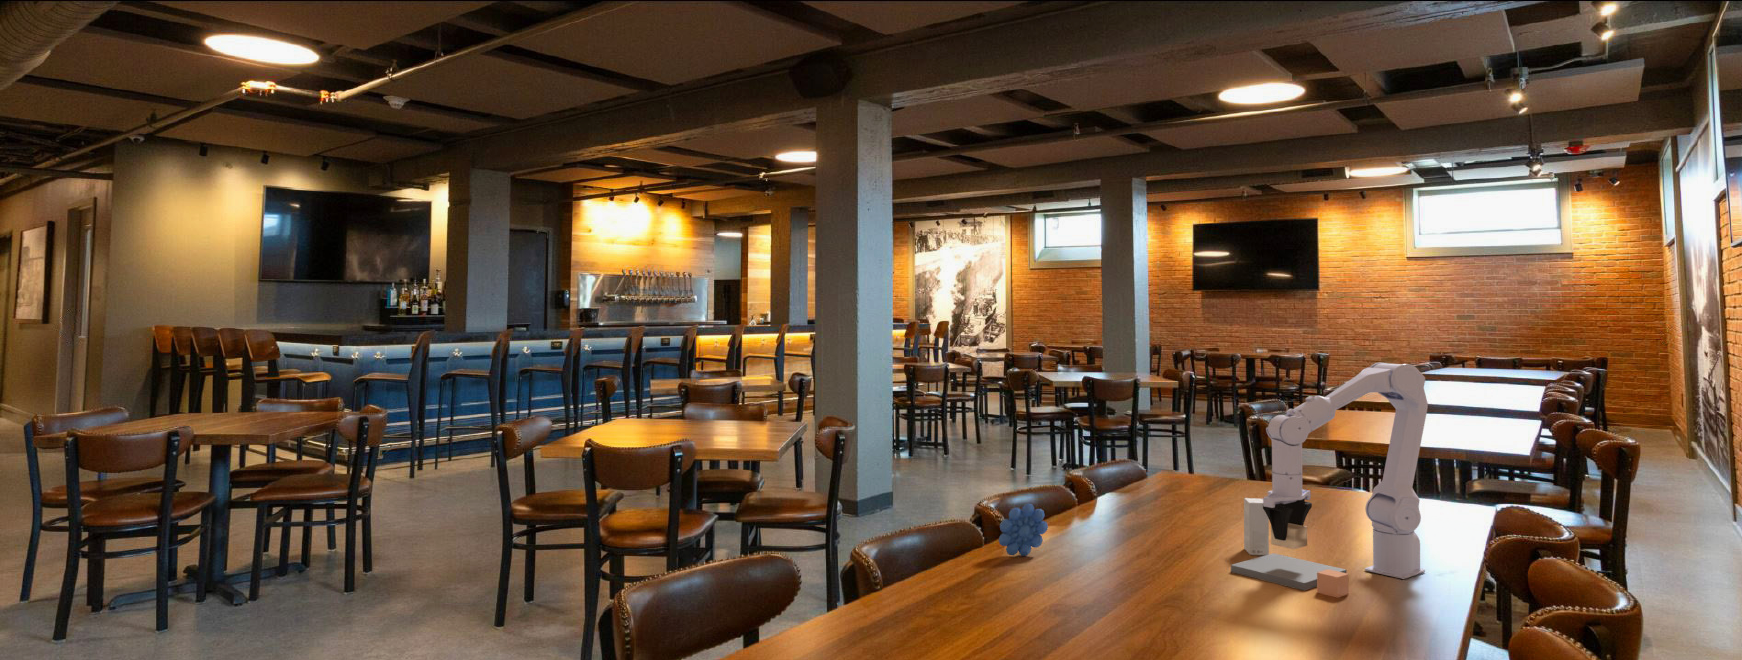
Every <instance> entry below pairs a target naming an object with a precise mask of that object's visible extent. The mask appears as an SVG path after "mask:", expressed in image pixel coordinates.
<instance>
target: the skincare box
mask: <svg viewBox="0 0 1742 660" xmlns="http://www.w3.org/2000/svg"><path fill="white" fill-rule="evenodd" d="M1269 523H1270V521H1269V518H1268V516H1267V514H1266V513H1265V511H1264V509H1263V498H1255V497H1254V498H1249V497H1244V498H1243V549H1244V550H1245V551H1246V552H1247V553H1248V555H1251V556H1265V555H1269V554H1270V550H1269V549H1270V546H1269V545H1270V542H1269V541H1270V538H1269V537H1270V536H1269V535H1270V534H1269V533H1270V530H1269V529H1270V527H1269V526H1270V525H1269Z"/></svg>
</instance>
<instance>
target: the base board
mask: <svg viewBox="0 0 1742 660" xmlns="http://www.w3.org/2000/svg"><path fill="white" fill-rule="evenodd" d="M1327 569H1329V570H1334V571H1338V572H1342V573H1347V574H1348V571H1347V569H1346V568H1341V567H1336V566H1331V565H1328V564H1322V563H1318V562H1315V561H1314V562H1313V561H1309V560H1306V559H1300V558H1295V557H1292V556H1288V555H1287V556H1286V555H1282V554H1279V553H1274V552H1273V553H1269V555H1261V556H1259V557H1254V558H1251V559H1248V560H1244V561H1241V562H1236V563H1233V564H1230V572H1231V573H1233V574H1238V575H1242V576H1246V577H1249V578H1253V579H1256V580H1257V579H1258V580H1261V581H1266V582H1268V583H1273V584H1277V585H1280V586H1285V587H1289V588H1293V589H1297V590H1301V591H1307V590H1310V589H1314V588H1317V572H1320V571H1324V570H1327Z"/></svg>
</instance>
